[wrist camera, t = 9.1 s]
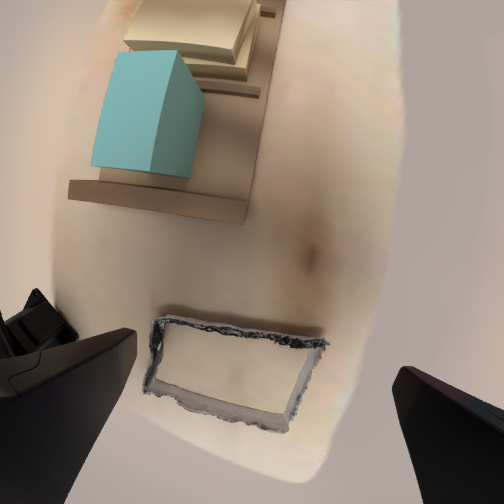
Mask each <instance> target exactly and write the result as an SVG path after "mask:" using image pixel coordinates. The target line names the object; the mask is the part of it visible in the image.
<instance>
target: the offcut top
mask: <svg viewBox="0 0 504 504" xmlns="http://www.w3.org/2000/svg"><path fill="white" fill-rule="evenodd" d="M255 12H256V0H144V1H143V2H142V4H141V6H140V8H139V9H138V11H137V13H136V15H135V17H134V19H133V21H132V22H131V24H130V26H129V28H128V30H127V32H126V34H125V36H124V38H123V41H124V42H125V43H126V44H127V45H128V46H129V47H130V48H131V49H132V50H133V51H154V50H178V52H179V54H180V55H181V57H184V58H192V59H200V60H207V61H213V62H219V63H225V64H230V65H235V63H236V61H237V58H238V55H239V53H240V50H241V47H242V45H243V42H244V39H245V37H246V34H247V32H248V29H249V27H250V24H251V22H252V19H253V17H254V14H255Z"/></svg>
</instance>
